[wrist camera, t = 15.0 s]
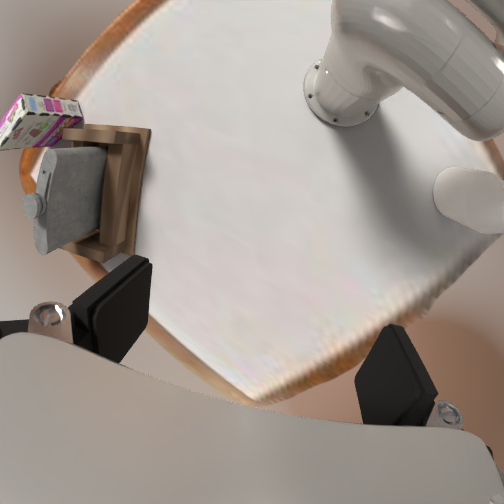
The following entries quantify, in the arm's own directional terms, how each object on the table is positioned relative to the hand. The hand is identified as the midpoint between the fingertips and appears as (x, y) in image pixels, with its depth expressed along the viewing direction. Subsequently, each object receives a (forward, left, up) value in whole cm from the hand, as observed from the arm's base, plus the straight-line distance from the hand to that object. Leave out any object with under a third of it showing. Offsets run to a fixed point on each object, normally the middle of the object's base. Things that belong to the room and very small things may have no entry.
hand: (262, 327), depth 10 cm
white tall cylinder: (-10, +31, -38) cm, 50 cm away
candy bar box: (-7, -47, -38) cm, 61 cm away
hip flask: (+5, -32, -37) cm, 49 cm away
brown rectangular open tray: (+5, -32, -38) cm, 50 cm away
